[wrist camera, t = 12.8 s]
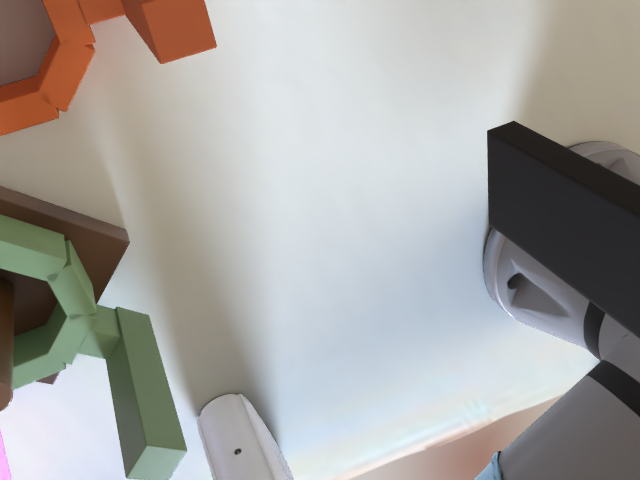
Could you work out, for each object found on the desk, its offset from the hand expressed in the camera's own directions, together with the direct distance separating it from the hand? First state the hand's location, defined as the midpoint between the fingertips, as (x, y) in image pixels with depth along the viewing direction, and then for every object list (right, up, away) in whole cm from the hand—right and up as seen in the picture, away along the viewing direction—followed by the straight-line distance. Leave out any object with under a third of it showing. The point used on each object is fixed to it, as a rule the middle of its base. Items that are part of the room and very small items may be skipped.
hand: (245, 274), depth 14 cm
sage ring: (-13, -2, +19) cm, 23 cm away
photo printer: (-4, -14, +32) cm, 35 cm away
